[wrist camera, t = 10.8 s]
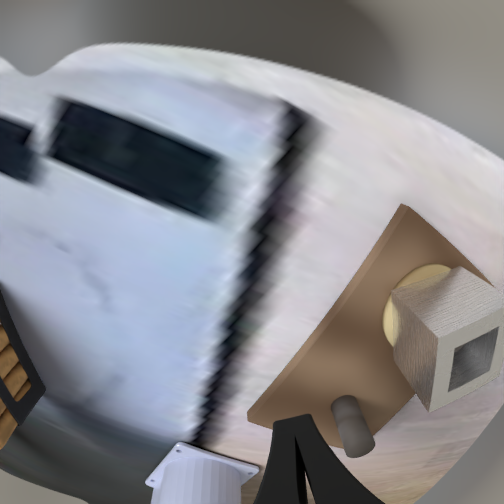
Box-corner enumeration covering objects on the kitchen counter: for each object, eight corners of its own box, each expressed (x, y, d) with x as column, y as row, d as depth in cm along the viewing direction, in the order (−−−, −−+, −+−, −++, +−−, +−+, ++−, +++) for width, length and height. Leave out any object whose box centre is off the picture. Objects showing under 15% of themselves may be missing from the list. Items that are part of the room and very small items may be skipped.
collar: (456, 333, 19) (498, 376, 14) (393, 359, 19) (428, 413, 14) (460, 266, 17) (514, 301, 12) (390, 290, 17) (438, 338, 12)
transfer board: (352, 443, 24) (369, 490, 19) (247, 411, 22) (250, 470, 16) (487, 282, 20) (533, 313, 14) (401, 203, 18) (455, 224, 12)
